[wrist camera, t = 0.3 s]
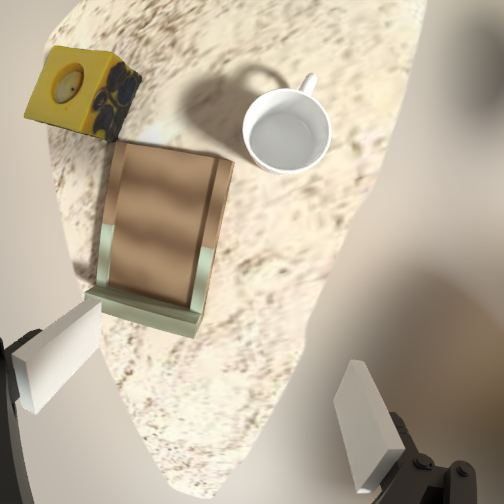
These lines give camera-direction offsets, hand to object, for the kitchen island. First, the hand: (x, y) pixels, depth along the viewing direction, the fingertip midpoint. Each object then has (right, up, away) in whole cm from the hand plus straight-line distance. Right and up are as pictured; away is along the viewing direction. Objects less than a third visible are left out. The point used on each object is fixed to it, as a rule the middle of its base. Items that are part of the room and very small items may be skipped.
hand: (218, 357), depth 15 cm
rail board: (-10, +8, +26) cm, 29 cm away
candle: (-19, +26, +23) cm, 39 cm away
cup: (+6, +20, +23) cm, 31 cm away
